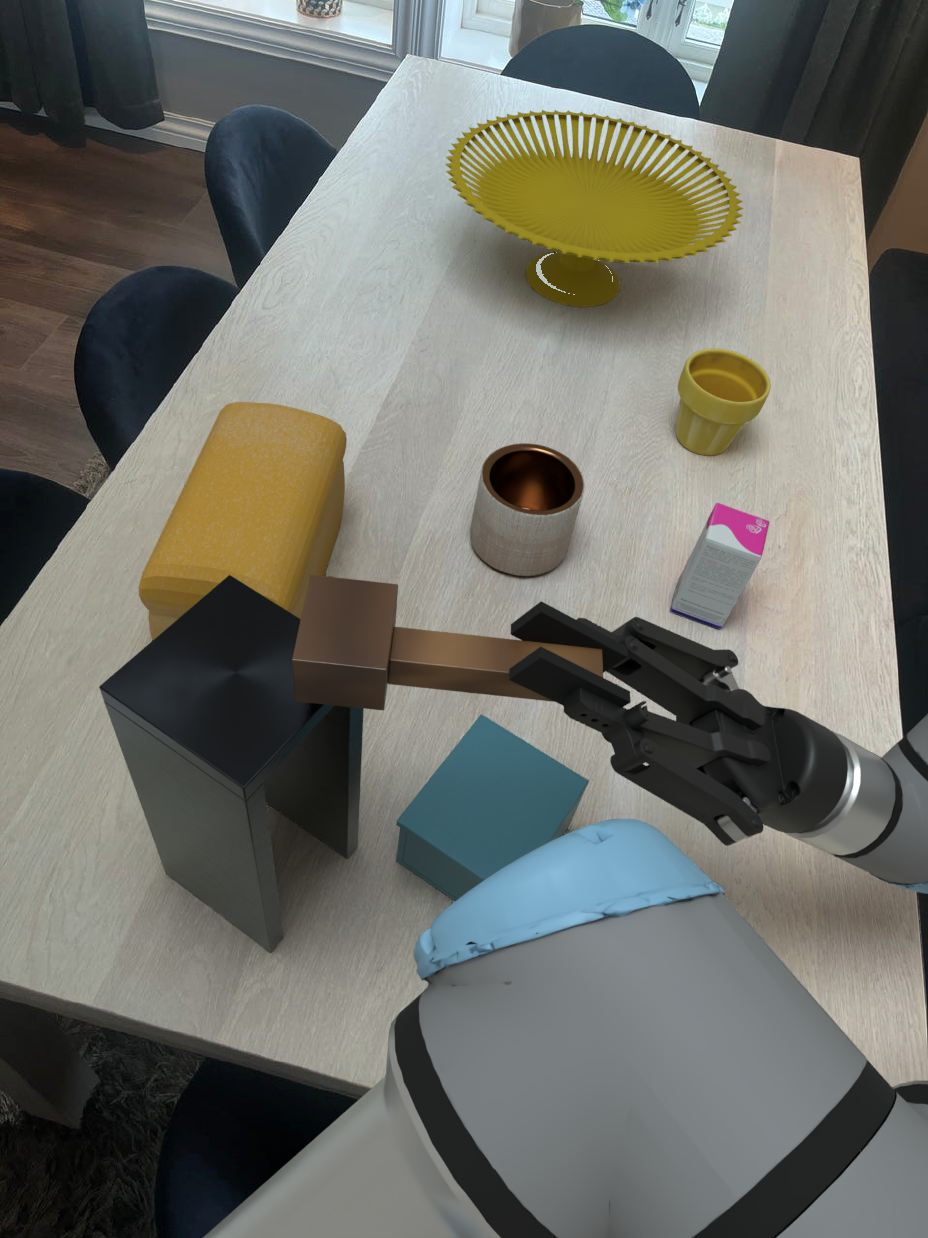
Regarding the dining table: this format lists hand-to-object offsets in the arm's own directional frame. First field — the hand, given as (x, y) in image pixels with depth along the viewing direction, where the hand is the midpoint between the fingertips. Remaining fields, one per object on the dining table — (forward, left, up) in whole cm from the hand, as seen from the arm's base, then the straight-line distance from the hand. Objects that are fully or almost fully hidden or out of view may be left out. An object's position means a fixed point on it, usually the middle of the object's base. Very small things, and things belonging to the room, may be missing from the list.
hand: (525, 640), depth 51 cm
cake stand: (+86, +37, -34) cm, 99 cm away
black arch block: (-8, +14, -33) cm, 37 cm away
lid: (+4, 0, -26) cm, 26 cm away
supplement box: (+41, -4, -34) cm, 53 cm away
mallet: (-2, +3, -4) cm, 6 cm away
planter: (+36, +16, -34) cm, 52 cm away
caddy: (+4, 0, -33) cm, 34 cm away
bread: (+14, +34, -34) cm, 50 cm away
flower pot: (+66, +7, -34) cm, 74 cm away
